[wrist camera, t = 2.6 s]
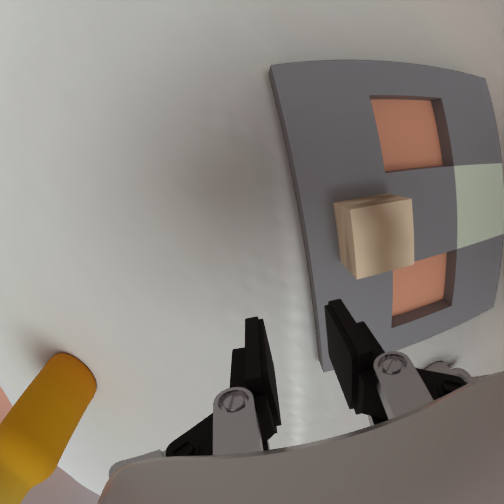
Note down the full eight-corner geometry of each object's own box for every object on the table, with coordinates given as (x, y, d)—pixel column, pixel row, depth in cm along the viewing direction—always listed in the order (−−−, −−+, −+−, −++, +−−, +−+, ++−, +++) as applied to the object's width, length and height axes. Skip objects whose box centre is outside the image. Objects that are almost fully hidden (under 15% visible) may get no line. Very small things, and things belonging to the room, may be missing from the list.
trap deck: (474, 81, 22) (485, 78, 19) (484, 300, 31) (493, 306, 29) (268, 73, 23) (270, 65, 21) (319, 360, 33) (323, 372, 30)
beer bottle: (44, 351, 33) (-43, 468, 5) (80, 350, 32) (-15, 498, 5) (70, 392, 35) (6, 509, 8) (107, 394, 35) (45, 537, 7)
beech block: (387, 193, 24) (411, 198, 20) (392, 250, 26) (414, 264, 22) (333, 202, 24) (350, 209, 20) (340, 262, 26) (356, 279, 22)
